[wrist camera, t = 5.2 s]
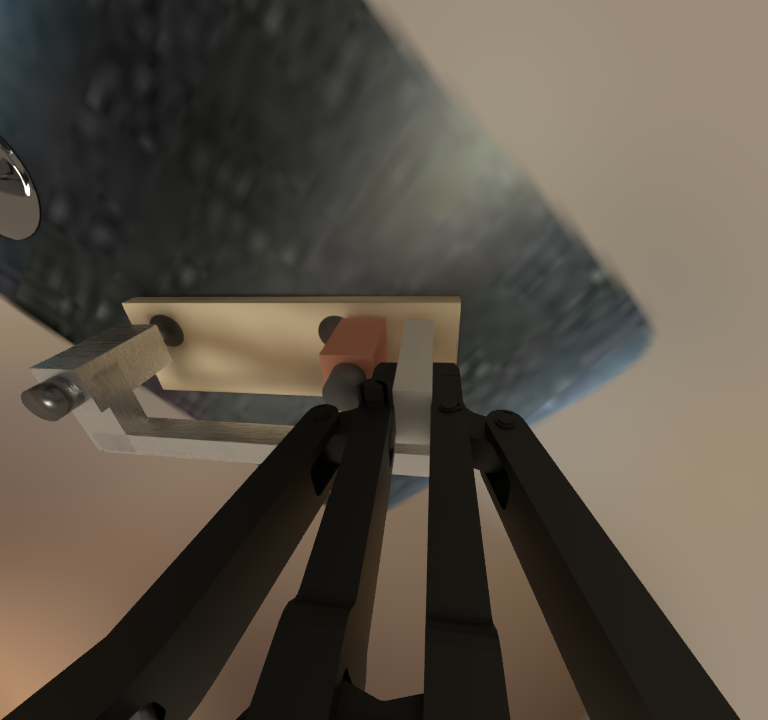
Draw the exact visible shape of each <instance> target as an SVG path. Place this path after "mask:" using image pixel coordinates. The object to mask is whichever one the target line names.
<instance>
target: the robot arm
mask: <svg viewBox="0 0 768 720" xmlns="http://www.w3.org/2000/svg"><path fill="white" fill-rule="evenodd" d="M357 394H358V401H359V405H358V407H357V408H354V409H352V410H348V411H342V412H339V410H338V409H337V407H336V406H333V405H331V404H322V405H318V406H315V407H313V408H311V409H310V410H309V411H308V412H307V413H306V414H305V415H304V416H303V417H302V418H301V420H300V421H299V422H298V423H297V424H296V425H295V426H294V427H293V428H292V430H291V431H290V432H289V433H288V434H287V435H286V436H285V437H284V439H283V440H282V441H281V442H280V443H279V444H278V445H277V446H276V447H275V449H274V450H273V451H272V452H271V453H270V454H269V455H268V456H267V458H266V459H265V460H264V461H263V462H262V463H261V464H260V465H259V466H258V468H257V469H256V470H255V471H254V472H253V473H252V474H251V475H250V477H249V478H248V479H247V480H246V481H245V482H244V483H243V484H242V485H241V487H240V488H239V489H238V490H237V491H236V492H235V493H234V495H233V496H232V497H231V498H230V499H229V500H228V501H227V502H226V503H225V504H224V506H223V507H222V508H221V509H220V510H219V511H218V512H217V513H216V515H215V516H214V517H213V518H212V519H211V520H210V521H209V522H208V524H207V525H206V526H205V527H204V528H203V529H202V530H201V531H200V532H199V533H198V535H197V536H196V537H195V538H194V539H193V540H192V541H191V543H190V544H189V545H188V546H187V547H186V548H185V549H184V550H183V551H182V552H181V554H180V555H179V556H178V557H177V558H176V559H175V560H174V562H173V563H172V564H171V565H170V566H169V567H168V568H167V569H166V571H165V572H164V573H163V574H162V575H161V576H160V577H159V578H158V579H157V580H156V582H155V583H154V584H153V585H152V586H151V587H150V588H149V589H148V590H147V592H146V593H145V594H144V595H143V596H142V597H141V598H140V599H139V601H138V602H137V603H136V604H135V605H134V606H133V607H132V608H131V610H130V611H129V612H128V613H127V614H126V615H125V616H124V617H123V618H122V620H121V621H120V622H119V623H118V624H117V625H116V626H115V627H114V628H113V630H112V631H111V632H110V633H109V634H108V635H107V636H106V637H105V638H104V639H103V640H101V641H100V642H99V643H97V645H95V646H94V647H93V648H91V649H90V650H89V651H87V652H86V653H85V654H84V655H82V656H81V657H80V658H78V659H77V660H76V661H75V662H73V663H72V664H71V665H70V666H68V667H67V668H66V669H65V670H63V671H62V672H61V673H60V674H58V675H57V676H56V677H55V678H53V679H52V680H51V681H50V682H48V683H47V684H46V685H45V686H43V687H42V688H41V689H39V691H37V692H36V693H34V694H33V695H32V696H31V697H29V698H28V699H27V700H26V701H24V702H23V703H22V704H21V705H19V706H18V707H17V708H16V709H15V710H13V711H12V712H11V713H9V714H8V715H7V716H5V717H4V718H3V719H2V720H188V718H189V717H190V716H191V715H192V713H193V712H194V711H195V709H196V708H197V707H198V705H199V704H200V702H201V701H202V699H203V698H204V696H205V695H206V693H207V692H208V690H209V689H210V687H211V686H212V684H213V683H214V681H215V680H216V678H217V676H218V675H219V673H220V672H221V670H222V668H223V667H224V665H225V663H226V662H227V660H228V658H229V657H230V655H231V654H232V652H233V650H234V649H235V647H236V645H237V644H238V642H239V640H240V639H241V637H242V635H243V634H244V632H245V631H246V629H247V627H248V626H249V624H250V622H251V621H252V619H253V617H254V616H255V614H256V612H257V611H258V609H259V608H260V606H261V604H262V603H263V601H264V599H265V598H266V596H267V595H268V593H269V591H270V589H271V588H272V586H273V585H274V583H275V581H276V580H277V578H278V576H279V575H280V573H281V572H282V569H283V568H284V567H285V565H286V563H287V562H288V560H289V558H290V557H291V555H292V554H293V552H294V550H295V549H296V547H297V545H298V544H299V542H300V540H301V539H302V537H303V535H304V534H305V532H306V531H307V529H308V527H309V526H310V524H311V522H312V521H313V519H314V517H315V516H316V514H317V513H318V511H319V509H320V508H321V506H322V504H323V503H324V501H325V499H326V498H327V496H328V494H329V493H330V496H329V499H328V502H327V505H326V508H325V511H324V514H323V517H322V521H321V524H320V527H319V530H318V533H317V536H316V539H315V542H314V545H313V549H312V552H311V555H310V558H309V561H308V564H307V567H306V570H305V573H304V577H303V580H302V583H301V586H300V589H299V591H298V594H297V595H296V597H295V598H294V599H292V600H291V601H289V602H288V604H287V605H286V607H285V609H284V610H283V613H282V615H281V618H280V620H279V623H278V626H277V629H276V631H275V634H274V637H273V640H272V643H271V646H270V649H269V652H268V655H267V658H266V661H265V664H264V667H263V670H262V672H261V675H260V678H259V681H258V684H257V687H256V690H255V693H254V696H253V698H252V702H251V704H250V706H249V707H248V708H247V709H246V710H245V711H244V712H243V713H242V714H241V715H240V716H239V717H238V718H237V719H236V720H510V714H509V707H508V699H507V692H506V684H505V677H504V669H503V662H502V654H501V648H500V642H499V637H498V633H497V629H496V628H495V626H494V624H493V620H492V614H491V607H490V598H489V590H488V583H487V575H486V566H485V558H484V550H483V543H482V534H481V526H480V517H479V509H478V502H477V493H476V486H475V478H474V469H473V468H475V469H478V470H480V473H481V476H482V478H483V481H484V483H485V485H486V487H487V490H488V492H489V494H490V496H491V498H492V501H493V503H494V505H495V508H496V510H497V512H498V514H499V516H500V519H501V521H502V523H503V525H504V528H505V530H506V532H507V534H508V537H509V539H510V541H511V543H512V546H513V548H514V550H515V552H516V554H517V557H518V559H519V561H520V564H521V566H522V568H523V570H524V572H525V575H526V577H527V579H528V581H529V584H530V586H531V588H532V590H533V592H534V595H535V597H536V599H537V602H538V604H539V606H540V608H541V610H542V613H543V615H544V617H545V620H546V622H547V624H548V626H549V628H550V631H551V633H552V635H553V637H554V640H555V642H556V644H557V646H558V649H559V651H560V653H561V655H562V658H563V660H564V662H565V664H566V667H567V669H568V671H569V673H570V675H571V678H572V680H573V682H574V685H575V687H576V689H577V691H578V693H579V695H580V698H581V700H582V702H583V705H584V707H585V709H586V711H587V714H588V716H589V718H590V720H740V718H739V717H738V716H737V715H736V713H735V712H734V710H733V709H732V707H731V706H730V705H729V703H728V702H727V701H726V699H725V698H724V696H723V695H722V694H721V692H720V691H719V690H718V688H717V687H716V685H715V684H714V682H713V681H712V680H711V678H710V677H709V676H708V674H707V673H706V671H705V670H704V669H703V667H702V666H701V664H700V663H699V662H698V660H697V659H696V657H695V656H694V655H693V653H692V652H691V651H690V649H689V648H688V646H687V645H686V644H685V642H684V641H683V639H682V638H681V637H680V635H679V634H678V633H677V631H676V630H675V629H674V627H673V626H672V624H671V623H670V621H669V620H668V619H667V617H666V616H665V615H664V613H663V612H662V610H661V609H660V608H659V606H658V605H657V604H656V602H655V601H654V599H653V598H652V597H651V595H650V594H649V593H648V591H647V590H646V588H645V587H644V585H643V584H642V583H641V581H640V580H639V579H638V577H637V576H636V574H635V573H634V572H633V570H632V569H631V567H630V566H629V565H628V563H627V562H626V561H625V559H624V558H623V556H622V555H621V554H620V552H619V551H618V549H617V548H616V547H615V545H614V544H613V543H612V541H611V540H610V539H609V537H608V536H607V535H606V533H605V531H604V530H603V529H602V527H601V526H600V525H599V523H598V522H597V521H596V519H595V518H594V516H593V515H592V513H591V512H590V511H589V509H588V508H587V507H586V505H585V504H584V502H583V501H582V500H581V498H580V497H579V495H578V494H577V493H576V491H575V490H574V489H573V487H572V486H571V484H570V483H569V482H568V480H567V479H566V477H565V476H564V475H563V473H562V472H561V471H560V469H559V468H558V466H557V465H556V464H555V462H554V461H553V459H552V458H551V457H550V456H549V454H548V453H547V451H546V450H545V448H544V447H543V446H542V444H541V443H540V442H539V440H538V439H537V437H536V436H535V435H534V433H533V432H532V430H531V429H530V428H529V426H528V425H527V423H526V422H525V421H524V419H523V418H522V417H521V416H519V415H518V414H516V413H514V412H512V411H508V410H495V411H492V412H490V413H489V414H488V415H487V417H486V416H482V415H479V414H476V413H473V412H472V411H470V410H469V409H467V408H466V406H465V404H464V403H463V397H462V389H461V380H460V372H459V368H458V367H457V366H456V364H455V363H440V362H433V320H406V323H405V328H404V333H403V338H402V344H401V349H400V354H399V359H398V363H393V362H380V363H379V364H378V365H377V366H376V367H375V368H374V372H373V375H372V378H371V379H367V380H364V381H362V382H361V383H359V385H358V386H357ZM395 440H396V443H401V444H419V445H430V463H429V507H428V550H427V551H428V552H427V593H426V594H427V597H426V627H425V669H424V670H425V671H424V694H418V695H413V696H408V697H403V698H398V699H393V700H389V701H381V700H378V699H376V698H375V697H373V696H371V695H369V694H368V693H366V692H365V684H366V667H367V665H366V664H367V649H368V641H369V634H370V627H371V620H372V613H373V605H374V598H375V591H376V584H377V576H378V570H379V563H380V555H381V548H382V541H383V534H384V527H385V520H386V513H387V505H388V498H389V491H390V484H391V477H392V470H393V462H394V455H395V448H394V442H395ZM330 491H331V492H330Z"/></svg>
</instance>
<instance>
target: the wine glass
mask: <svg viewBox="0 0 768 720" xmlns="http://www.w3.org/2000/svg"><path fill="white" fill-rule="evenodd" d="M40 218H41V210H40V203H39V198H38V195H37V192H36V189H35V186H34V184H33V182H32V180H31V178H30V176H29V174H28V172H27V170H26V169H25V167H24V166H23V164H22V162H21V161H20V160H19V158H18V157H17V155H16V154H15V153H14V151H13V150H12V149H11V148H10V147H9V146H8V145H7V143H6V142H5V141H4V140H3V139H2V138H1V137H0V238H4V239H8V240H23V239H27V238H29V237H31V236H32V235H33V234H34V233H35V232H36V230H37V228H38V226H39V223H40Z"/></svg>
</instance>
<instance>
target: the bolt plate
mask: <svg viewBox="0 0 768 720" xmlns="http://www.w3.org/2000/svg"><path fill="white" fill-rule="evenodd" d="M122 305H123V307H124V309H125V311H126V313H127V315H128V318H129V320H130V322H131V324H153V325H157V327H158V328H159V327H160V326H162V325H166V326H168V327H170V328H171V329H172V331H173V336H172V337H170V338H168V339H167V340H165V341H164V343H165V345H166V347H167V349H168V352H169V354H170V356H171V358H172V362H171V363H170V364H168V365H167V366H166V367H164V368H163V369H161V370H160V371H159V372H157V373H156V375H157V377H158V379H159V381H160V383H161V385H162V387H163V389H168V390H191V391H214V392H237V393H260V394H283V395H306V396H322V389H323V386H324V381H323V375H322V369H321V364H320V358H319V354H320V352H321V351H322V349H323V347H324V346H325V344H326V343H327V341H328V339H329V338H330V336H331V335H332V333H333V332H334V330H335V328H336V327H337V325H338V324H339V322H340V320H341V319H342V318H386V334H387V353H388V358H387V362H393V363H398V359H399V354H400V349H401V344H402V338H403V333H404V328H405V323H406V320H433V362H440V363H455V364H456V365H457V352H458V338H459V325H460V311H461V300H460V296H304V297H135V298H132V299H130V300H128V301H125V302H123V303H122Z"/></svg>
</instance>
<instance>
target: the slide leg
mask: <svg viewBox="0 0 768 720" xmlns="http://www.w3.org/2000/svg"><path fill="white" fill-rule="evenodd" d="M319 358H320V364H321V369H322V375H323V381H324V386H323V389H322V396H323V399H324V401H325V402H326V403H327V404H331V405H333V406H336V407H337V409H338V410H339V412H342V411H348V410H352V409H354V408H357V407H358V405H359V401H358V394H357V386H358V385H359V383H361V382H362V381H364V380H367V379H371V378H372V375H373V372H374V368H375V367H376V366H377V365H378V364H379V363H380V362H387V358H388V353H387V334H386V318H342V319H341V320H340V322H339V324H338V325H337V327H336V328H335V330H334V332H333V333H332V335H331V336H330V338H329V339H328V341H327V343H326V344H325V346H324V347H323V349H322V351H321V352H320V354H319ZM330 492H331V491H330Z"/></svg>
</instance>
